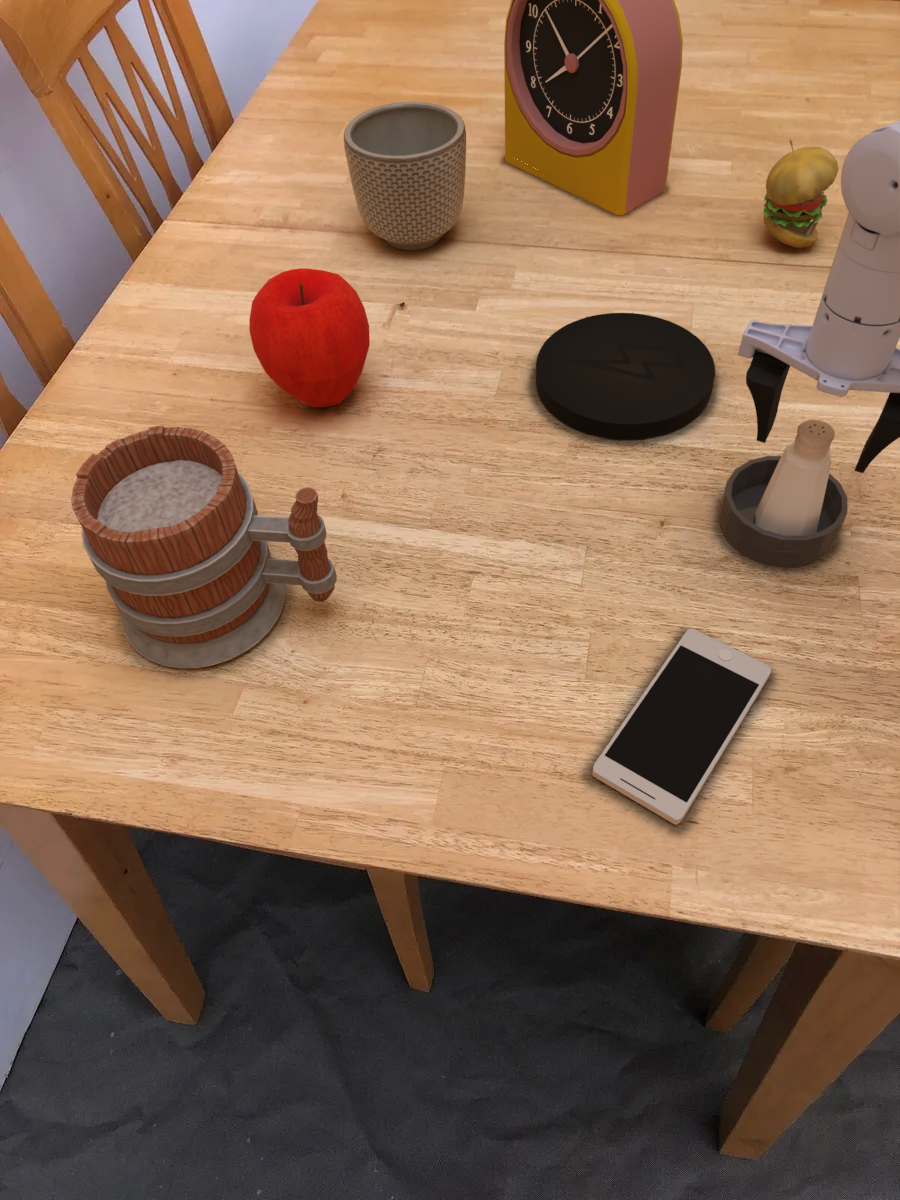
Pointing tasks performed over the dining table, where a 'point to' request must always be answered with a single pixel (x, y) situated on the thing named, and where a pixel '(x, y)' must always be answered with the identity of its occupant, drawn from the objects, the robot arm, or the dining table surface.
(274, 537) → the mug
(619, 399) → the wireless charger
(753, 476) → the bowl
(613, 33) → the alarm clock
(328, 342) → the apple
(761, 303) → the dining table surface
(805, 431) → the salt shaker
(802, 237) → the hamburger
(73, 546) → the dining table surface
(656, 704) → the smartphone
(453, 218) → the planter
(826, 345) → the robot arm
